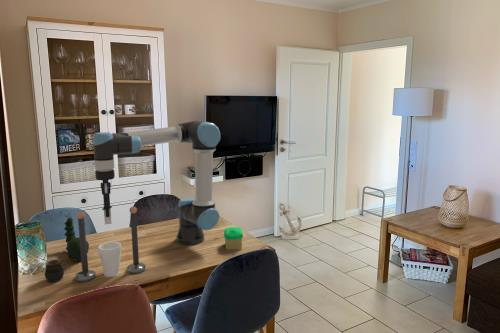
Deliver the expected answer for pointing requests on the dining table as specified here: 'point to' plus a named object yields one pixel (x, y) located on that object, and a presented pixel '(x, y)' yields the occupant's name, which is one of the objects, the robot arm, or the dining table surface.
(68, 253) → the toy figurine
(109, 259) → the foam cup
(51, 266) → the mate gourd
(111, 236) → the dining table surface
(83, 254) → the dark gray rod
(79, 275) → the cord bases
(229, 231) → the cake
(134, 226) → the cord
